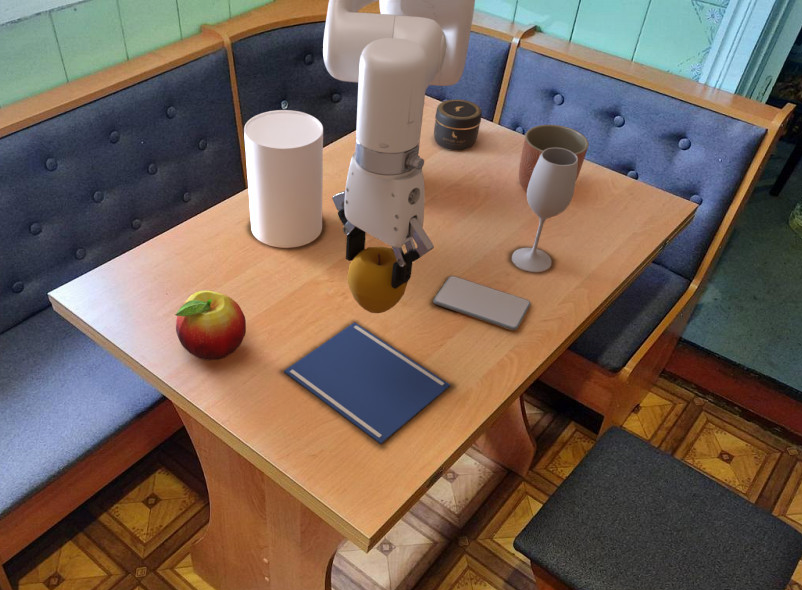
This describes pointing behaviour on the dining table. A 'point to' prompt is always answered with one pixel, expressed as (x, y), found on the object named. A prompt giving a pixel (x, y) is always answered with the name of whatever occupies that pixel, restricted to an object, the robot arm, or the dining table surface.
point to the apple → (374, 279)
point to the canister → (285, 177)
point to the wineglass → (547, 200)
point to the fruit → (210, 325)
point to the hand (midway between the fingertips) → (377, 269)
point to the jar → (457, 124)
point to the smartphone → (482, 302)
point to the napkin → (367, 381)
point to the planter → (549, 138)
